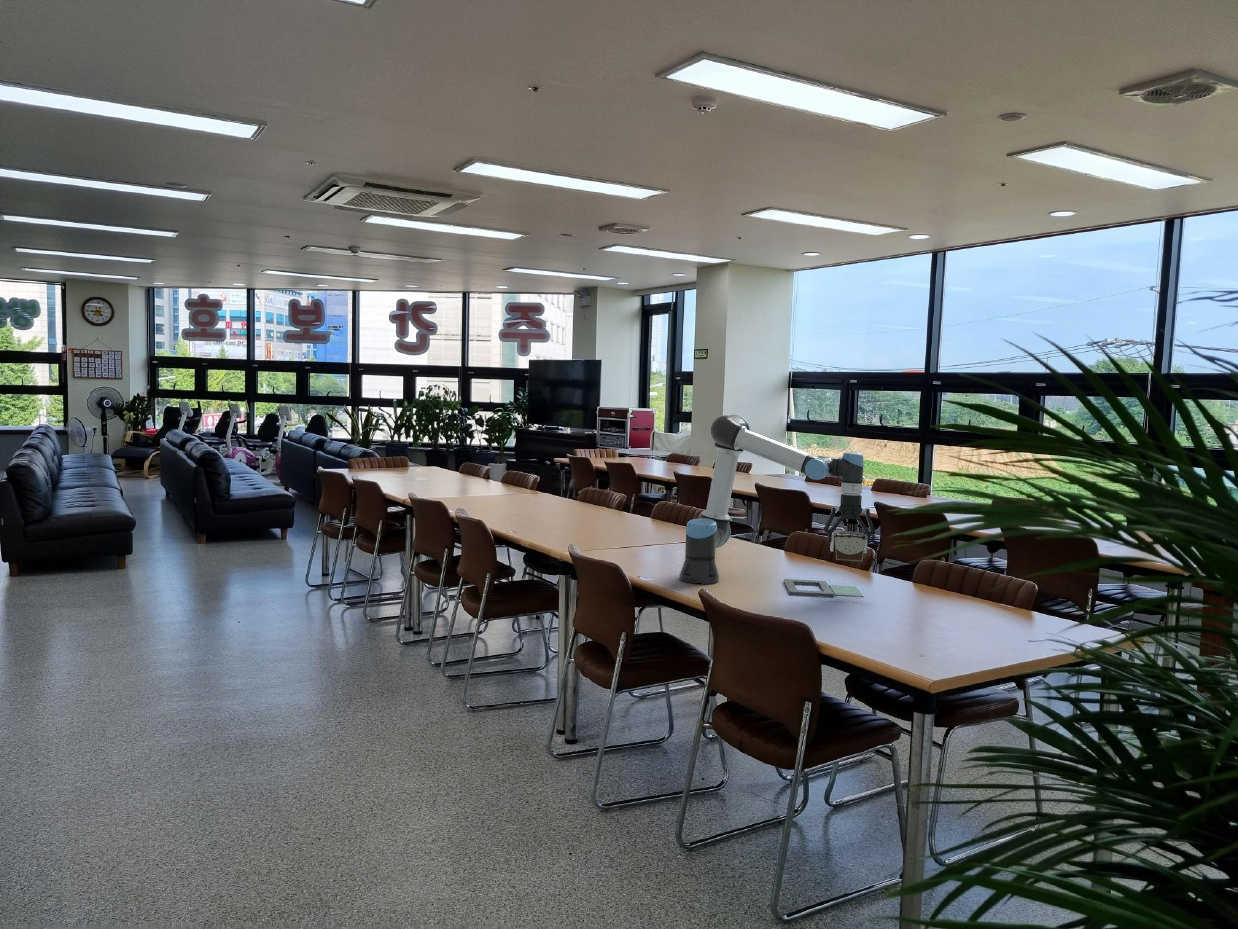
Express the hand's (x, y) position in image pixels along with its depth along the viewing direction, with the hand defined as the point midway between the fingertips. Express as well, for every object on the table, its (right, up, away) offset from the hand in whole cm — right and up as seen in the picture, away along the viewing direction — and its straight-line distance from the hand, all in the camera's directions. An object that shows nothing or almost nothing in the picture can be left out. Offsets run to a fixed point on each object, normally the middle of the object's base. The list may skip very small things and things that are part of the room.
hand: (848, 551), depth 318 cm
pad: (-1, -15, +1) cm, 15 cm away
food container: (0, -3, 0) cm, 3 cm away
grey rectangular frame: (-14, -14, +2) cm, 21 cm away
